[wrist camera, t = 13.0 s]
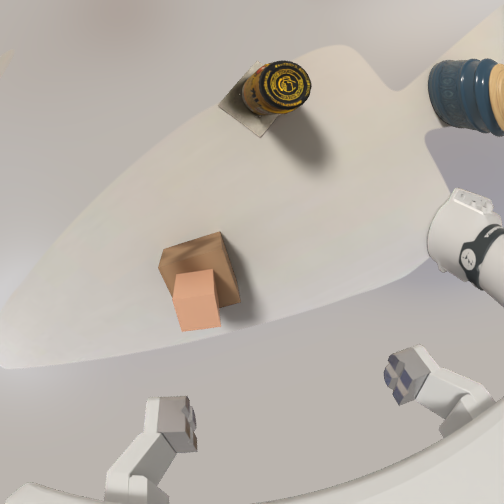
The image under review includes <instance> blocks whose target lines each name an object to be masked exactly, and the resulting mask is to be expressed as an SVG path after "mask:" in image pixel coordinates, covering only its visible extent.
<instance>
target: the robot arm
mask: <svg viewBox="0 0 504 504" xmlns="http://www.w3.org/2000/svg"><path fill="white" fill-rule="evenodd" d="M493 208H494V205H492V201H491V200H490V199H488V198H486V197H483V196H480V195H477V194H475V193H472V192H469V191H466V190H463V189H460V188H455V189H454V191H453V192H452V194H451V196H450V198H449V200H448V201H447V202H446V203H445V204H444V205H443V206H442V207H441V208H440V209H439V211H438V212H437V214H436V215H435V217H434V219H433V221H432V223H431V226H430V229H429V233H428V241H427V245H428V252H429V255H430V256H431V258H432V259H433V260H434V261H435V262H436V263H437V264H438V268H439V270H440V271H442V272H443V273H444V272H447V271H448V272H450V273H451V274H453V275H455V276H456V277H457V278H459V279H460V280H462V281H464V282H466V281H470V282H471V283H472V284H473V285H474V286H475V287H477V288H479V289H480V290H484V291H486V292H487V293H488V294H489V295H490V296H491V297H493V298H494V299H495V300H496V301H497V302H498V303H499V304H500V305H501V306H503V307H504V228H503V227H502V220H501V217H500V215H498V214H497V213H495V212H493ZM388 361H389V364H388V365H387V366H386V367H385V370H384V379H385V382H386V384H387V386H388V387H389V388H391V389H393V396H394V398H395V400H396V401H397V403H398V405H399V406H400V405H402V404H405V403H407V402H409V401H412V400H415V401H417V402H418V403H420V404H421V405H423V406H425V407H426V408H428V409H429V410H431V411H432V412H434V413H436V414H437V415H439V416H440V417H442V418H444V419H445V421H444V422H443V423H442V424H441V425H440V427H439V431H440V433H441V434H442V436H443V439H441V440H440V441H438V442H436V443H434V444H433V445H431V446H429V447H427V448H425V449H423V450H422V451H420V452H418V453H416V454H414V455H412V456H410V457H408V458H405V459H403V460H401V461H399V462H397V463H395V464H392V465H390V466H388V467H385V468H383V469H381V470H378V471H376V472H373V473H371V474H368V475H365V476H363V477H360V478H357V479H354V480H351V481H348V482H345V483H343V484H339V485H336V486H333V487H329V488H326V489H322V490H319V491H315V492H311V493H307V494H303V495H298V496H294V497H289V498H284V499H279V500H274V501H268V502H261V503H254V504H504V397H503V398H502V399H500V400H499V401H497V402H495V401H494V399H493V398H492V397H491V395H490V394H489V393H488V391H487V390H486V389H485V387H484V386H483V385H482V384H481V383H478V382H476V381H474V380H471V379H469V378H467V377H464V376H462V375H460V374H457V373H455V372H453V371H450V370H448V369H446V368H444V367H443V368H440V367H439V366H438V364H437V363H436V362H435V360H434V359H433V358H432V357H431V355H430V354H429V353H428V352H427V350H426V349H425V348H424V347H423V346H422V345H421V344H419V345H416V346H413V347H411V348H407V349H405V350H402V351H399V352H396V353H393V354H392V355H390V356H389V359H388ZM195 429H196V418H195V413H194V410H193V408H192V406H190V402H189V398H188V397H187V396H176V397H149V398H148V400H147V403H146V412H145V422H144V432H143V433H140V434H139V435H138V436H137V437H136V438H135V440H134V441H133V442H132V443H131V444H130V445H129V447H128V448H127V449H126V450H125V451H124V452H123V454H122V455H121V456H120V457H119V458H118V460H117V461H116V462H115V463H114V464H113V465H112V466H111V468H110V469H109V470H108V471H107V477H106V487H105V497H104V501H102V500H97V499H92V498H87V497H83V496H78V495H74V494H70V493H66V492H62V491H59V490H56V489H52V488H49V487H46V486H43V485H40V484H37V483H33V482H28V483H26V484H24V485H22V486H21V487H20V488H19V489H17V490H16V491H15V492H14V493H13V494H11V495H10V496H9V497H8V499H7V500H6V502H5V504H169V496H168V495H167V494H166V493H165V492H163V491H162V490H161V489H160V488H158V487H157V485H158V483H159V482H160V480H161V479H162V477H163V475H164V474H165V472H166V471H167V469H168V467H169V466H170V464H171V462H172V461H173V459H174V458H175V456H176V453H187V452H197V437H196V435H195V433H194V431H195Z"/></svg>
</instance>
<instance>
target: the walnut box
mask: <svg viewBox="0 0 504 504" xmlns="http://www.w3.org/2000/svg"><path fill="white" fill-rule="evenodd" d="M158 268H159V271H160V273H161V275H162V277H163V279H164V281H165V283H166V285H167V288H168V290H169V292H170V294H171V296H172V298H173V293H174V286H175V280H176V274H182V273H189V272H196V271H202V270H209V269H213V272H214V278H215V283H216V289H217V294H218V299H219V308H222V307H225V306H229V305H232V304H236V303H239V302H241V300H240V295H239V290H238V285H237V280H236V277H235V274H234V271H233V268H232V265H231V263H230V260H229V257H228V254H227V251H226V248H225V245H224V242H223V239H222V236H221V233H220V232H217V233H213V234H210V235H207V236H204V237H200V238H197V239H194V240H191V241H188V242H185V243H181V244H178V245H175V246H172V247H169V248H166V249H164V250H163V253H162V256H161V260H160V263H159V267H158Z"/></svg>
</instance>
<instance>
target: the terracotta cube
mask: <svg viewBox="0 0 504 504" xmlns="http://www.w3.org/2000/svg"><path fill="white" fill-rule="evenodd" d="M172 300H173V304H174V307H175V310H176V314H177V317H178V320H179V323H180V327H181V330H182V332H183V331H191V330H199V329H207V328H214V327H221V321H220V310H219V299H218V294H217V289H216V283H215V278H214V272H213V269H209V270H202V271H196V272H189V273H182V274H176V280H175V286H174V293H173V299H172Z"/></svg>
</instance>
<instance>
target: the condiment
mask: <svg viewBox="0 0 504 504" xmlns="http://www.w3.org/2000/svg"><path fill="white" fill-rule="evenodd" d="M310 90H311V81H310V78H309V76H308V74H307V73H306V71H305V70H304V69H303V68H302V67H301V66H299V65H298V64H296V63H293V62H290V61H277V62H273V63H269V64H265V65H263V64H261V63H260V62H259V61H257V62H256V63H255V64H254V65H253V66H252V67H251V68H250V69H249V70H248V72H246V73H245V75H244V76H243V77H242V78H241V79H240V80H239V81H238V82H237V84H236V85H235V86H234V87H233V88H232V89H231V90H230V92H229V93H228V94H227V95H226V97H225V98H224V99H223V100H222V101H221V102H220V104H219V105H218V106H219V107H220V108H221V109H223V110H224V111H226V112H227V113H228V114H230V115H231V116H232V117H234V118H235V119H236V120H238V121H239V122H240V123H242V124H243V125H244V126H246V127H247V128H248V129H250V130H251V131H252V132H254V133H255V134H256V135H257V136H259V137H261V136H262V135H263V134H264V132H265V131H266V130H267V129H268V128H269V126H270V125H271V124H272V123H273V122H274V120H275V119H276V118H277V117H278V116H279V114H286V113H288V112H291V111H293V110H295V109H296V108H298V107H299V106H301V105H303V103H304V102H305V101H306V100H307V99H308V97H309V95H310ZM239 94H240V95H239ZM256 116H258V117H257V118H256ZM259 116H261V117H259Z"/></svg>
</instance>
